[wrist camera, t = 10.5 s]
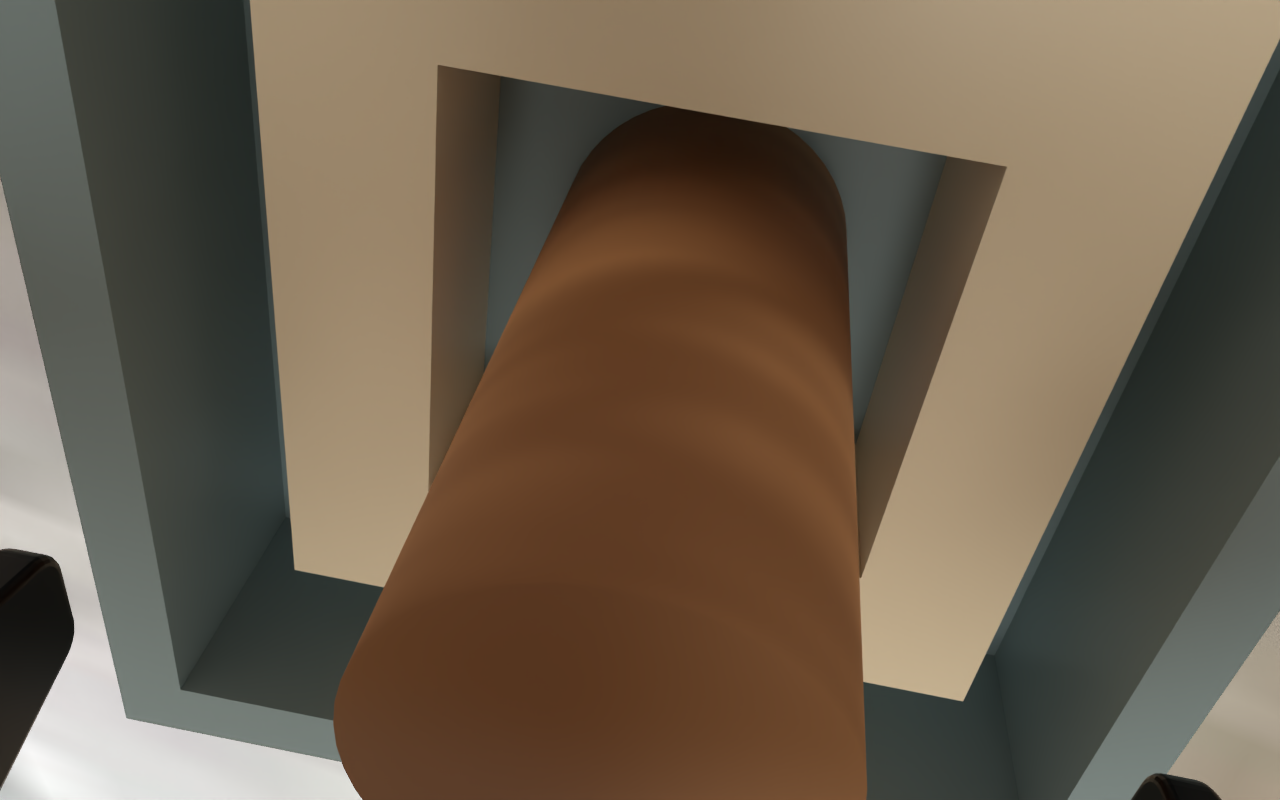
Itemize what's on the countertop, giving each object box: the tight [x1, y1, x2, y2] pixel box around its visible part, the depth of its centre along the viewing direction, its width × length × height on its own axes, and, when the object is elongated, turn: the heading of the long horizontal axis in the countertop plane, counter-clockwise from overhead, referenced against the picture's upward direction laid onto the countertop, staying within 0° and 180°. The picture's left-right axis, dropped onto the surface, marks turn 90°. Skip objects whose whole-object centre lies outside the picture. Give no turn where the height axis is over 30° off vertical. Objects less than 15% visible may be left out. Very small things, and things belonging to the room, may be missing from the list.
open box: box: [0, 0, 1280, 800], centre depth 14 cm, size 15×16×4 cm
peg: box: [333, 106, 867, 800], centre depth 12 cm, size 4×4×9 cm
